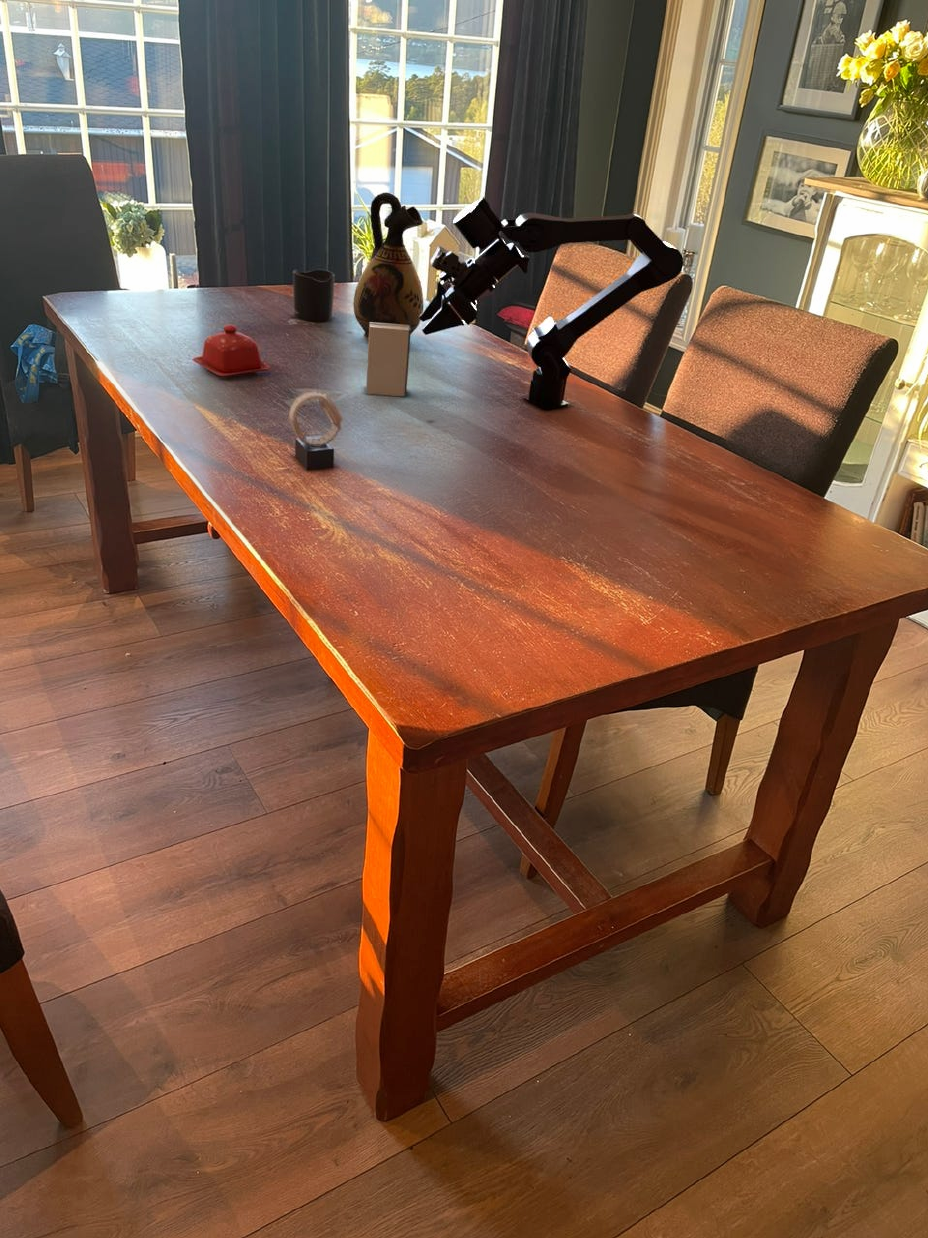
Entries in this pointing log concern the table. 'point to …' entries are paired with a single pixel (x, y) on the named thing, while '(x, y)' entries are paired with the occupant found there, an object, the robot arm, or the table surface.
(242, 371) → the butter dish
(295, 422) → the ring sculpture
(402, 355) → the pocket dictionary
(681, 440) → the table surface
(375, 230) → the ceramic jug
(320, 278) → the pen holder
